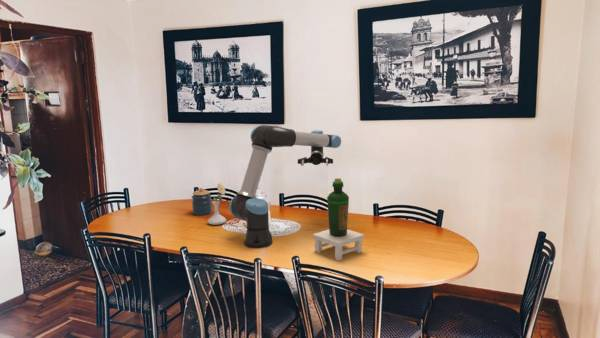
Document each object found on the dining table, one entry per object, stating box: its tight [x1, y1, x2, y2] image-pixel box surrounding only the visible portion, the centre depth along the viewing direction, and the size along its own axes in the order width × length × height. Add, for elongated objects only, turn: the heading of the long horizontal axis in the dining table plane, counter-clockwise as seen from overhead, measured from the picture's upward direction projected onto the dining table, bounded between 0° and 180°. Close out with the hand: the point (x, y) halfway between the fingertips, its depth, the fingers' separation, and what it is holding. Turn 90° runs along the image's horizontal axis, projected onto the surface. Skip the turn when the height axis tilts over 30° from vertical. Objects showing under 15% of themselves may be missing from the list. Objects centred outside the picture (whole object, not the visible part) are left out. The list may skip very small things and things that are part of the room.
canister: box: [191, 187, 213, 217], centre depth 286 cm, size 13×13×18 cm
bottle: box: [326, 177, 350, 237], centre depth 208 cm, size 11×11×28 cm
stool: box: [312, 229, 365, 261], centre depth 211 cm, size 18×18×9 cm
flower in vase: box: [207, 183, 227, 226], centre depth 262 cm, size 13×11×25 cm
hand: (314, 163), depth 234 cm, fingers open, 13 cm apart
